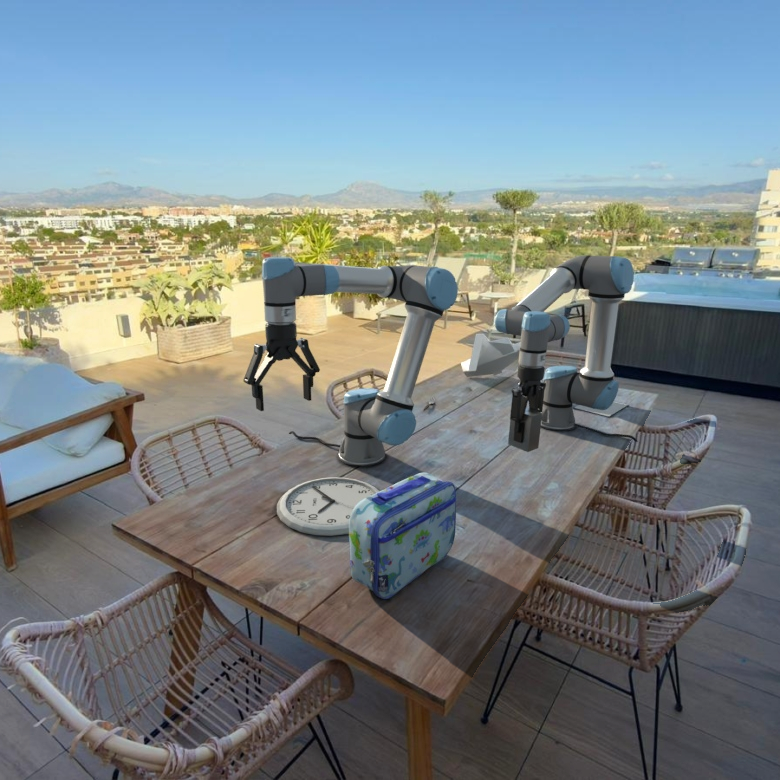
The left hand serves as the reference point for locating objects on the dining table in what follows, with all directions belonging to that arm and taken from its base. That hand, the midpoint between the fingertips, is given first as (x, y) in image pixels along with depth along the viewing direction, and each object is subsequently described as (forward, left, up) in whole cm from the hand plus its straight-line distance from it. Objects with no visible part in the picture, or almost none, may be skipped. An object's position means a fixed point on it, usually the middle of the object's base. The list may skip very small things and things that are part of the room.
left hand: (284, 404), depth 134 cm
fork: (+11, +94, -29) cm, 99 cm away
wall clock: (+11, +4, -29) cm, 31 cm away
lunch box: (+39, -16, -29) cm, 51 cm away
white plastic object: (+33, +141, -29) cm, 147 cm away
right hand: (+56, +44, -17) cm, 73 cm away
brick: (+56, +44, -20) cm, 74 cm away
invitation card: (+80, +124, -29) cm, 150 cm away
